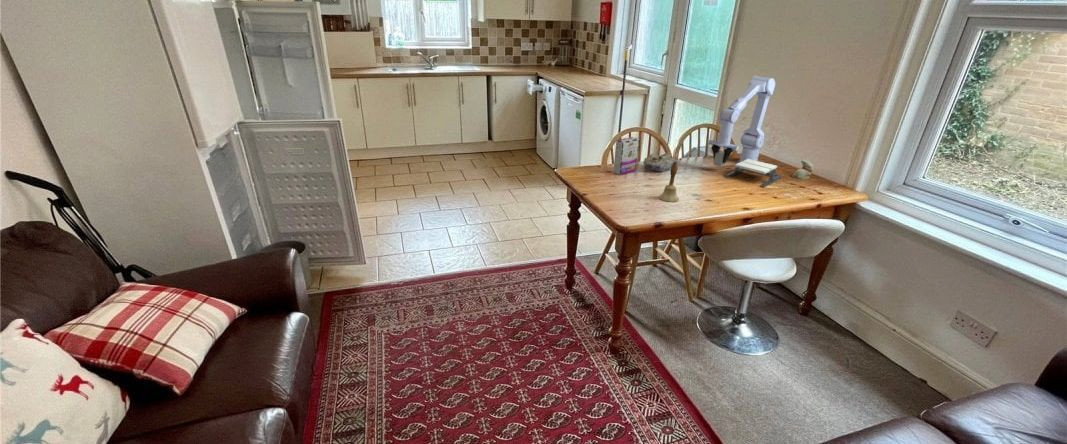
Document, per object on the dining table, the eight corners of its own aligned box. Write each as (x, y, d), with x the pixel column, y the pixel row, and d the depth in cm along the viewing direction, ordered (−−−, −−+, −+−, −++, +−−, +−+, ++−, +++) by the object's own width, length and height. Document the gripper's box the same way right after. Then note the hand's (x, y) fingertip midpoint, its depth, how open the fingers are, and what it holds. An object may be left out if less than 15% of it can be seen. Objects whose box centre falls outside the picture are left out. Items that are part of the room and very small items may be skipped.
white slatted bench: (743, 169, 232) (746, 156, 229) (780, 178, 220) (784, 165, 218) (725, 177, 220) (728, 164, 217) (763, 187, 208) (767, 174, 205)
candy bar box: (628, 168, 228) (632, 136, 221) (635, 171, 224) (640, 138, 217) (612, 172, 222) (615, 139, 215) (619, 175, 218) (623, 142, 211)
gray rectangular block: (717, 163, 229) (719, 151, 226) (724, 165, 226) (727, 153, 224) (713, 164, 227) (715, 152, 224) (720, 166, 224) (723, 154, 221)
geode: (638, 179, 229) (667, 181, 220) (634, 164, 224) (664, 165, 215) (651, 160, 239) (679, 161, 229) (648, 145, 233) (677, 145, 224)
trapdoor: (747, 160, 227) (748, 158, 226) (776, 167, 217) (777, 165, 217) (734, 166, 218) (735, 164, 217) (764, 174, 209) (765, 171, 208)
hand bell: (663, 193, 199) (669, 158, 192) (682, 198, 194) (688, 162, 187) (655, 198, 193) (660, 162, 186) (674, 204, 188) (680, 167, 181)
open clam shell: (809, 180, 219) (815, 160, 214) (791, 177, 223) (797, 157, 218) (810, 177, 223) (816, 157, 219) (793, 174, 227) (798, 154, 222)
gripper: (707, 132, 222) (702, 159, 228) (736, 138, 213) (730, 166, 219) (714, 130, 227) (709, 156, 232) (742, 136, 217) (736, 163, 223)
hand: (719, 161), depth 226 cm, fingers closed on gray rectangular block, 4 cm apart
